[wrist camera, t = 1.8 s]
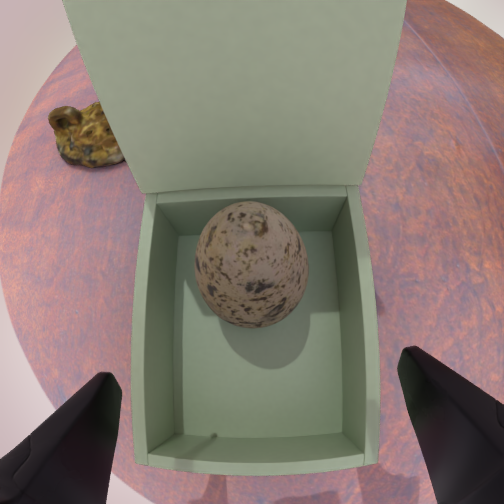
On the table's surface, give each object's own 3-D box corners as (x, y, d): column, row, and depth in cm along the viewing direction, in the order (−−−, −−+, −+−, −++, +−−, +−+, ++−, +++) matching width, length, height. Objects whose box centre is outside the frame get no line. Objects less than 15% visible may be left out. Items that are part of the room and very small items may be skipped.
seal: (185, 106, 29) (77, 114, 30) (178, 70, 24) (64, 87, 26) (156, 170, 25) (40, 171, 26) (140, 130, 20) (20, 143, 22)
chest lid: (415, -113, 2) (372, -105, 4) (41, -79, 2) (92, -83, 4) (361, 185, 16) (345, 137, 18) (141, 194, 16) (156, 145, 19)
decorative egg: (238, 232, 21) (217, 138, 12) (315, 270, 20) (352, 195, 11) (194, 305, 20) (132, 257, 10) (273, 349, 18) (279, 343, 9)
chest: (350, 437, 17) (378, 463, 11) (168, 439, 17) (134, 463, 12) (338, 225, 22) (358, 184, 16) (172, 230, 23) (145, 192, 17)
